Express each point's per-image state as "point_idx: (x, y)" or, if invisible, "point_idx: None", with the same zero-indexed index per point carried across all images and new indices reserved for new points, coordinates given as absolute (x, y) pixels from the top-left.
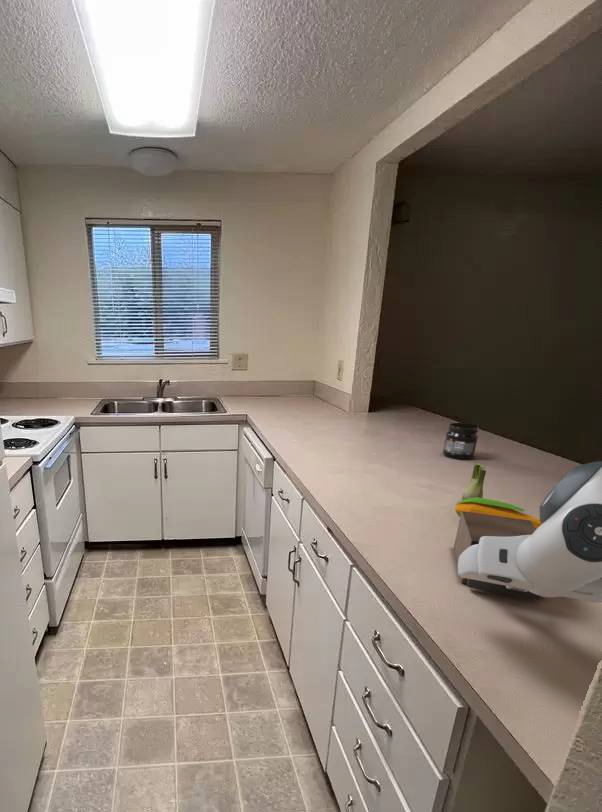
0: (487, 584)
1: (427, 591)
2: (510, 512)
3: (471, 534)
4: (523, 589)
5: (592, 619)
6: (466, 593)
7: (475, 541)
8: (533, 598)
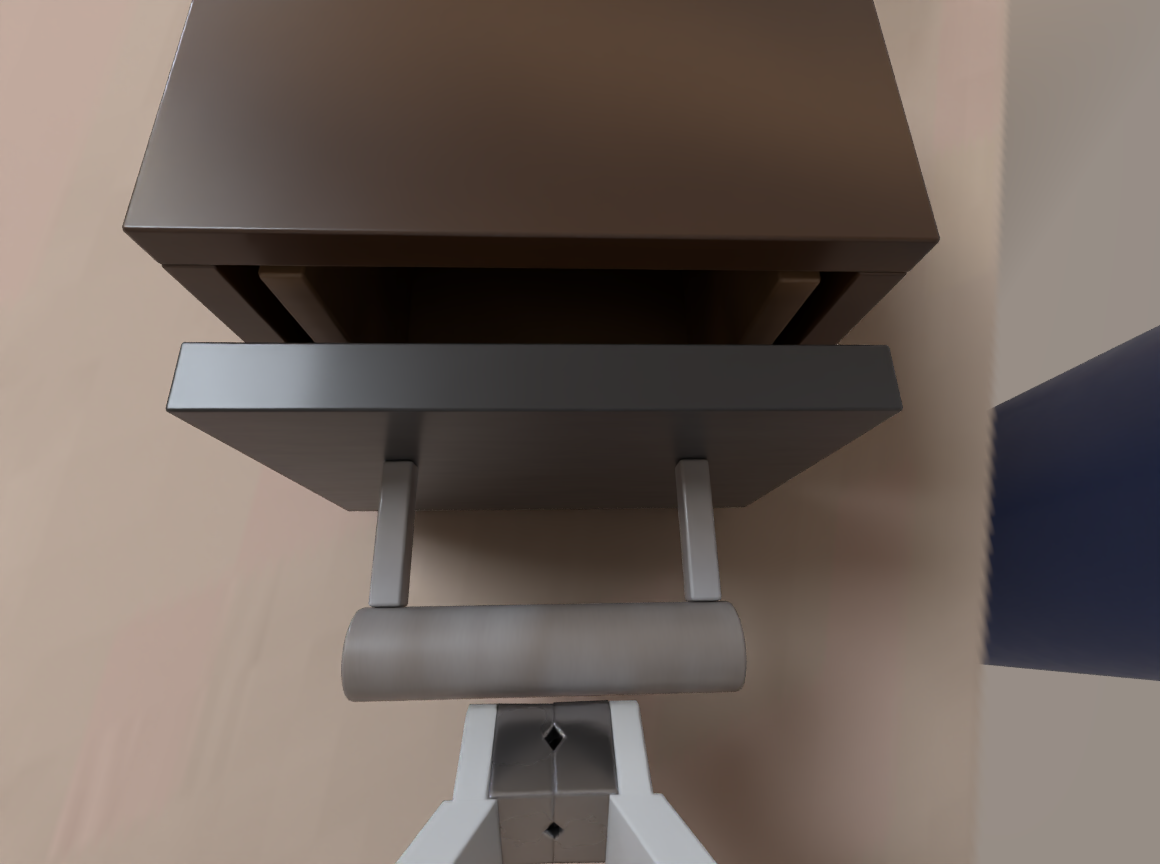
0: (447, 500)
1: (88, 631)
2: None
3: (183, 91)
4: (596, 858)
5: (982, 546)
6: (351, 548)
7: (169, 233)
8: (716, 507)
